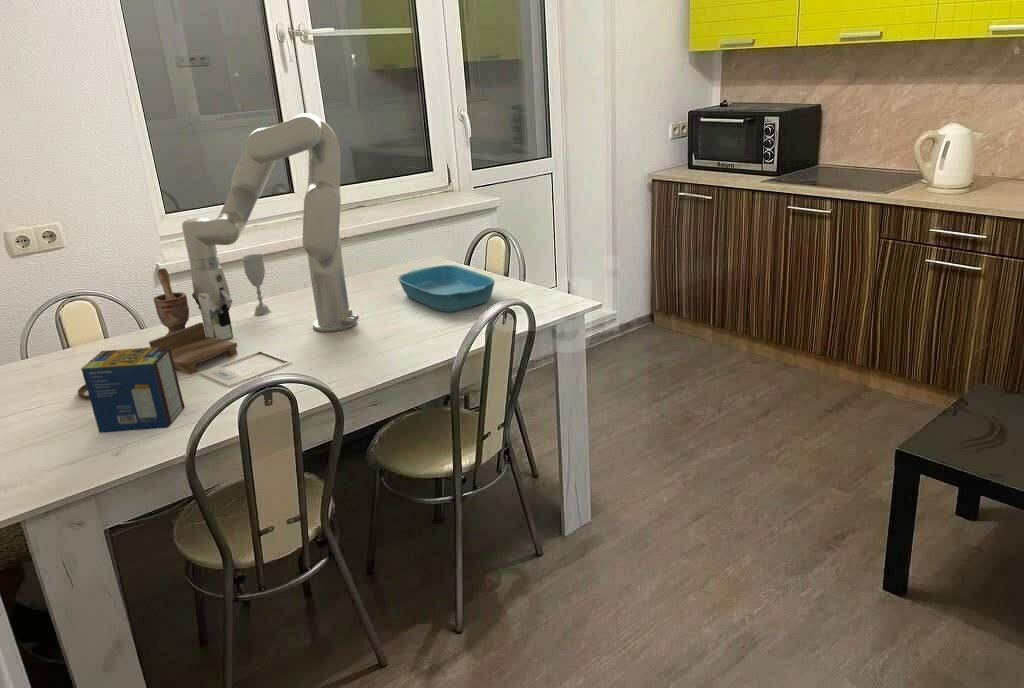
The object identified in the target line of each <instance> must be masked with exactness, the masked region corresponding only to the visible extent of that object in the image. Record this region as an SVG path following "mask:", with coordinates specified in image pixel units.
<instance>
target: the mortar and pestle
mask: <svg viewBox="0 0 1024 688" xmlns="http://www.w3.org/2000/svg"><path fill="white" fill-rule="evenodd" d="M156 273H157V277H158V280H159V282H160V284H161V286H162V289H163V292H164V294H160V295H157V296H154V298H153V302H154V306H155V309H156V314H157V316H158V319H159V320H160V322H161V324H162V325H163V326H164V327H166V328H167V329H168V332H167V333H166V334H165V336H166V335H168V334H171V333H174V332H176V331H179V330H182V329H184V328H186V324H187V322H189V318H190V317H189V316H190V308H189V304H188V297H187V293H184V292H180V291H179V292H173V290H172V287H171V281H170V274H169V272H168V270H167V268H159V269H158V270H157V272H156Z"/></svg>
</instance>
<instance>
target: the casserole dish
mask: <svg viewBox="0 0 1024 688" xmlns="http://www.w3.org/2000/svg"><path fill="white" fill-rule="evenodd" d="M397 279H398V281H399V284H400V285H401V288H402V290H403V291H404V293H405V295H406V296H407V297H408V298H411V299H412V300H413V301H416V302H418V301H419V302H418V303H420V302H421V304H423V305H425V306H427V305H428V306H427V307H430V308H432V309H434V308H435V310H437V311H441V312H444V313H445V312H446V313H452V312H453V313H454V312H459V311H463V310H467V309H469V308H473V306H474V307H476V305H477V306H479V304H480V305H483V304H485V303H487V302H488V301H489V299H490V298H491V296H492V293H493V289H494V286H495V281H496V280H495V279H493V278H492V277H491V276H488V275H484V274H482V273H480V272H476V271H474V270H471V269H468V268H464V267H462V266H458V265H453V264H452V265H451V264H444V265H442V264H441V265H436V266H425V267H422V268H417V269H413V270H409V271H408V272H406V273H402V274H400V275H399V276H398V277H397ZM482 303H483V304H482ZM462 309H463V310H462Z"/></svg>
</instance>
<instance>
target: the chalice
mask: <svg viewBox="0 0 1024 688" xmlns="http://www.w3.org/2000/svg"><path fill="white" fill-rule="evenodd" d="M264 257H265V254H261V253H255V254H254V253H253V254H248V255H245V256H244V255H243V256H242V257H241V258H240V260H241V261H242V263H243V268H244V274H245V276H246V277H247V279H248V281H249V282H250V283H251V285H252V286H253V287H255V288H256V294H257V297H256V299H257V300H258V305H256V306H255V310H254V313H255V314H256V316H262V315H261V314H265V315H267V314H266V313H268V314H270V313H271V312H270V311H271V309H270V307H269V306H268V305H267V304H264V303H263V296H262V290H261V289H260V288H261V287H260V286H262V285H263V283H264V280H265V273H266V269H265V263H264ZM269 312H270V313H269ZM255 314H254V315H255Z"/></svg>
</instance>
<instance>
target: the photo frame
mask: <svg viewBox="0 0 1024 688" xmlns="http://www.w3.org/2000/svg"><path fill="white" fill-rule="evenodd" d="M260 352H261V353H262V354H266V355H267V354H268V356H270V357H273V358H276V359H278V360H281V361H284V363H282V364H279V365H276V366H275V367H271V368H269V369H266V370H264V371H261V372H258V373H255V374H253V375H251V376H248V377H246V376H245V375H244V376H243V375H242V374H239V373H236V372H233V371H232V370H229V369H227V368H224V367H226V366H229V365H232V364H235V363H239V362H241V361H243V359H244V360H247V359H249V358H252V357H254V355H255V356H257V355H258V354H260ZM257 353H258V354H257ZM256 354H257V355H256ZM251 356H252V357H251ZM248 357H249V358H248ZM246 358H247V359H246ZM240 360H241V361H240ZM286 361H287V362H286ZM290 363H292V364H293V362H292V361H291V360H288V359H285V358H282V357H279V356H277V355H275V354H272V353H269V352H267V351H264V350H258V351H256V352H253V353H250V354H246V355H244V356H242V357H239V358H235V359H233V360H230V361H227V362H225V363H222V364H219V365H217V366H214V367H210V368H209V369H205V370H202V371H200V372H198V374H199V375H200V376H202V377H204V378H207V379H209V380H211V381H213V382H216V383H218V384H220V385H222V386H224V387H227V388H231V387H232V388H233V387H234V386H237V385H239V384H238V383H240V384H242V383H245V382H247V381H250V380H252V378H253V379H255V378H257V377H256V376H258V377H261V376H263V375H265V374H268V372H269V373H271V372H274V371H276V370H278V368H279V369H280V367H282V368H284V367H286V366H285V365H287V366H289V365H288V364H290ZM290 365H291V364H290ZM283 366H284V367H283ZM275 369H276V370H275ZM273 370H274V371H273ZM244 381H245V382H244ZM241 382H242V383H241ZM236 384H237V385H236Z"/></svg>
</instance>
